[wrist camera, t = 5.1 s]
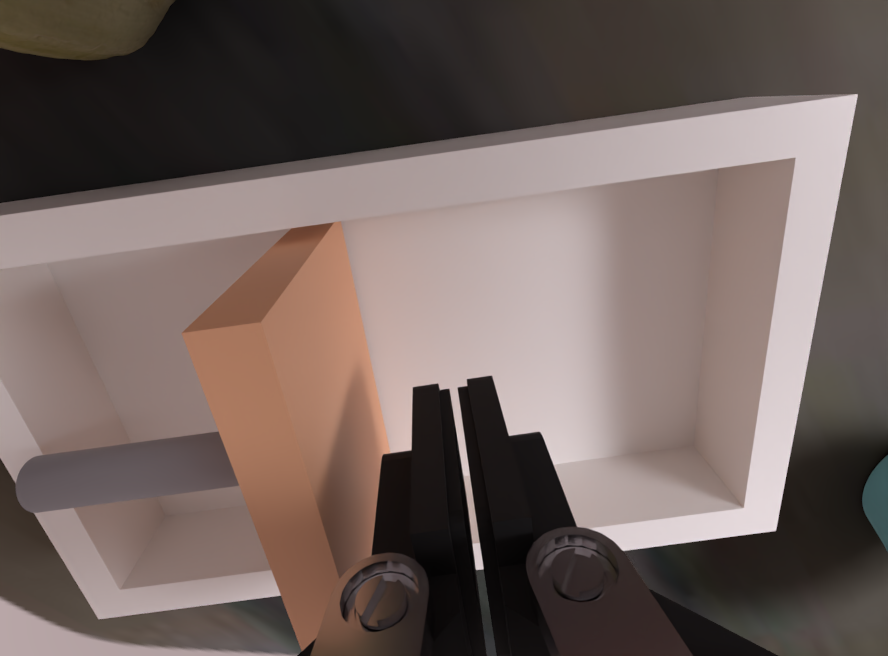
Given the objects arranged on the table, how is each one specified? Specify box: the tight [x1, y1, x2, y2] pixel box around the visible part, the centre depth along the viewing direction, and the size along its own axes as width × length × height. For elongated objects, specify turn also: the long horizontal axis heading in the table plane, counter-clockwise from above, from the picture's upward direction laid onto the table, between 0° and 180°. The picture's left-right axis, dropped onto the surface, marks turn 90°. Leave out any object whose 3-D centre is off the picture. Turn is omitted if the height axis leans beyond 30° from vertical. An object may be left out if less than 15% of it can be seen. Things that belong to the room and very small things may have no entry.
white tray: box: [0, 94, 858, 619], centre depth 13 cm, size 19×11×4 cm, turn 98°
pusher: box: [16, 221, 390, 651], centre depth 11 cm, size 7×8×7 cm
